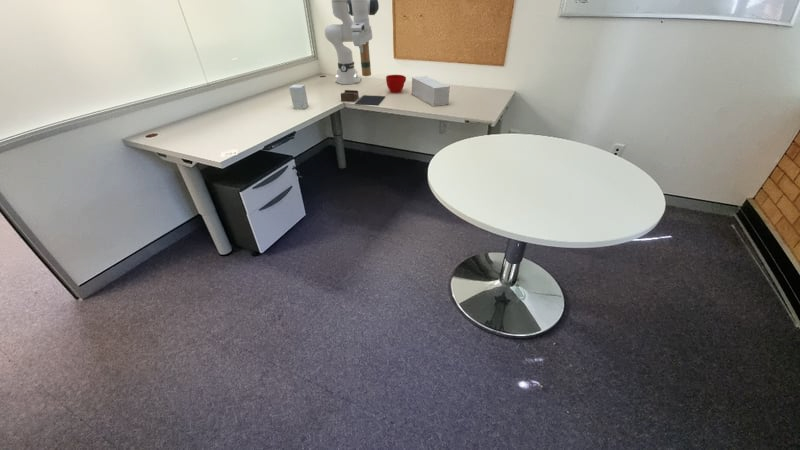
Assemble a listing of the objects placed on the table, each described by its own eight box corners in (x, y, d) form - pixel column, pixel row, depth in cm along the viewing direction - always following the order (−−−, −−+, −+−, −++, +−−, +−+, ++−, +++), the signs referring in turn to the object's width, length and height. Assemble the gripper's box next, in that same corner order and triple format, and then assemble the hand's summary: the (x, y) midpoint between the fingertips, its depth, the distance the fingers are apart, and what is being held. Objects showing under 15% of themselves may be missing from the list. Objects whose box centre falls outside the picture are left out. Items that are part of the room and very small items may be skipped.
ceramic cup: (412, 90, 235) (412, 75, 230) (395, 95, 226) (395, 79, 220) (398, 87, 243) (398, 72, 237) (382, 91, 233) (382, 76, 227)
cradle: (346, 97, 222) (345, 89, 219) (358, 97, 221) (358, 90, 218) (341, 101, 214) (340, 93, 212) (354, 101, 213) (353, 94, 210)
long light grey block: (411, 94, 228) (412, 77, 221) (425, 92, 231) (426, 76, 225) (433, 106, 204) (434, 88, 197) (448, 104, 207) (449, 86, 201)
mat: (363, 95, 225) (363, 95, 224) (385, 96, 222) (385, 96, 222) (355, 104, 209) (355, 103, 208) (377, 105, 206) (377, 104, 206)
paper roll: (370, 44, 198) (361, 43, 199) (366, 46, 194) (357, 45, 195) (372, 73, 209) (364, 73, 210) (369, 76, 205) (360, 75, 206)
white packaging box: (308, 105, 207) (305, 84, 199) (304, 109, 201) (301, 87, 193) (297, 105, 207) (293, 84, 200) (293, 108, 201) (288, 87, 194)
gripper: (364, 21, 198) (366, 46, 207) (349, 28, 183) (352, 55, 192) (373, 21, 196) (375, 47, 205) (359, 28, 182) (362, 55, 191)
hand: (364, 51), depth 199 cm, fingers closed on paper roll, 5 cm apart
